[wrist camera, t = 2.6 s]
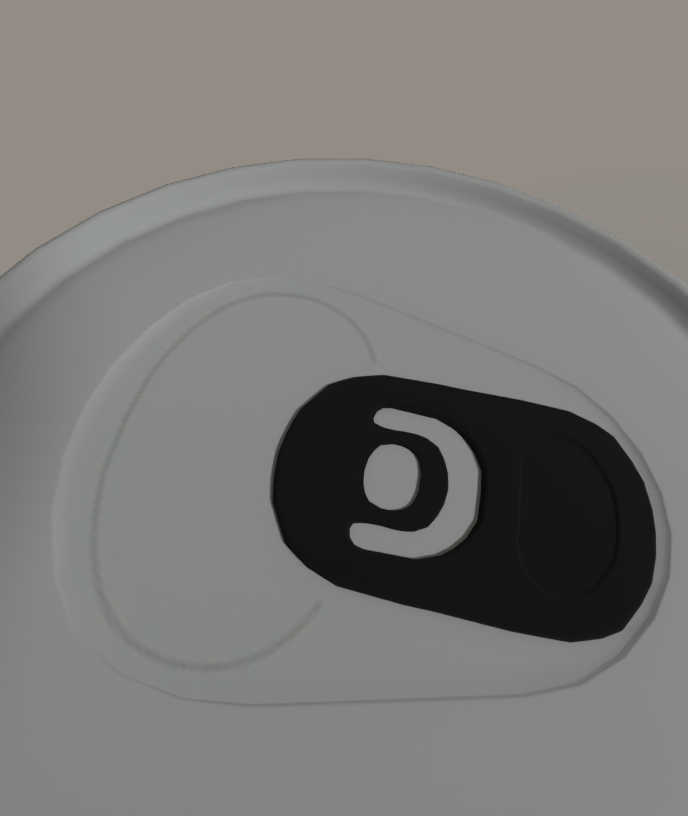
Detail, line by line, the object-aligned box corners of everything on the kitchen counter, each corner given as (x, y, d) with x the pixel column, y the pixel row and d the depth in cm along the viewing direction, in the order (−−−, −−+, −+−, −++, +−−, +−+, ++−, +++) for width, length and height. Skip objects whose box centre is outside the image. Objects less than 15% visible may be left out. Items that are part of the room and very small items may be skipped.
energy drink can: (244, 573, 17) (70, 52, 5) (438, 618, 17) (847, 188, 4) (171, 810, 14) (-1090, 1295, 1) (409, 872, 14) (1726, 2323, 1)
